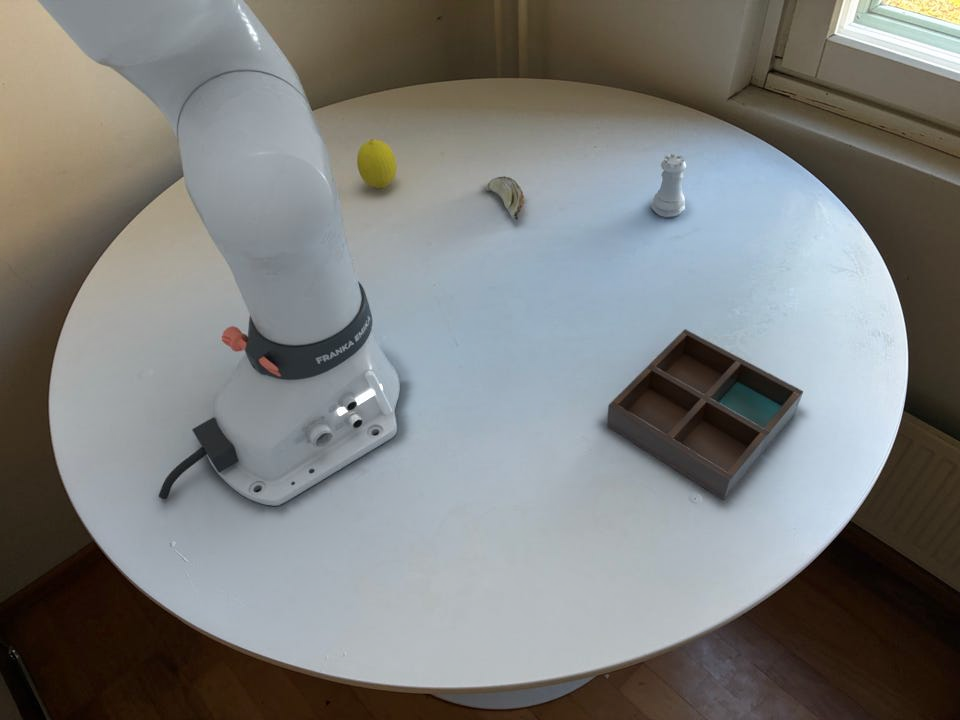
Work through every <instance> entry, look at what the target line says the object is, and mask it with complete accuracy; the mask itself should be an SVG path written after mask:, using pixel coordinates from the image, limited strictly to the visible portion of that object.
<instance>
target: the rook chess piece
mask: <svg viewBox="0 0 960 720" xmlns="http://www.w3.org/2000/svg"><path fill="white" fill-rule="evenodd" d="M675 155H676V153H670V155H669V154H667V155H665V157H664V159H663V160H662V161H661V163H660V167H661V170H663V171H662V172H661V174H660V175H661V178H662V180H661V183H660V187H659V189H658V190H657V192H655V195H654V196H653V197H652V203H651V207H652V210H653V211H654V212H655V214H657V215H658V216H660V217H663V218H675V217H678V216H679V215H681V214H682V213H683V212H684V211H685V209H686V205H685V204H686V198H685V195H684V192H683V191H682V179H683V178H684V173H683V172H684V171H685V170H686V169H687V163H686V161H685V157H684V156H682V154H680V153H677V156H675Z"/></svg>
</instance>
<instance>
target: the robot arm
mask: <svg viewBox="0 0 960 720" xmlns="http://www.w3.org/2000/svg"><path fill="white" fill-rule="evenodd" d="M36 1H37V2H38V3H39V4H40V5H41V6H42V8H43V9H44V10H45V11H46V12H47V13H48V14H49V15H50V17H51V18H52V19H53V20H54V21H55V22H56V24H58V26H60V28H61V29H62V30H63V31H64V32H65V33H66V34H67V36H68V37H69V38H70V39H71V40H72V41H73V42H74V43H75V45H76V46H77V47H78V48H79V49H80V50H81V51H82V52H83V54H84V55H86V56H87V57H88V58H89V59H90V60H92V61H93V62H95V63H96V64H99V65H101V66H104V67H107V68H109V69H111V70H113V71H114V72H116V73H117V74H119V75H120V76H121V77H122V78H124V79H125V80H126V81H128V82H129V83H130V84H131V85H132V86H134V87H135V88H136V89H137V90H138V91H140V92H141V93H142V94H143V95H145V96H146V97H147V98H148V99H149V100H150V101H151V102H152V103H153V104H154V105H155V106H156V107H157V108H158V110H159V111H160V112H161V113H162V114H163V116H164V118H165V119H166V120H167V122H168V123H169V126H170V127H171V129H172V131H173V133H174V134H173V135H175V138H176V140H177V144H178V147H179V154H180V160H181V161H180V162H181V168H182V173H183V180H184V185H185V188H186V191H187V194H188V196H189V198H190V201H191V203H192V205H193V207H194V209H195V210H196V213H197V215H198V216H199V218H200V220H201V222H202V224H203V226H204V227H205V229H206V231H207V233H208V234H209V235H208V236H210V238H211V239H212V242H213V243H214V245H215V247H216V248H217V250H218V251H219V253H220V254H221V256H222V257H223V259H224V260H225V262H226V264H227V265H228V267H229V269H230V272H231V273H232V276H233V278H234V281H235V283H236V285H237V287H238V290H239V292H240V295H241V297H242V299H243V302H244V305H245V306H246V309H247V311H248V314H249V319H248V330H247V334H246V333H243V332H242V331H241V329H240V328H238V327H237V326H228V327H227V328H226V329H225V330H223V332H222V336H221V339H222V340H221V342H222V343H223V344H225V345H226V346H227V347H230V349H231V350H232V351H234V352H241V351H243V352H244V354H243V355H242V357H241V358H240V360H239V361H238V363H237V365H236V366H235V368H234V369H233V371H232V373H231V374H230V375H229V377H228V378H227V380H226V381H225V383H224V385H223V386H222V387H221V389H220V390H219V392H218V394H217V395H216V397H215V400H214V406H213V411H214V416H212V417H211V418H210V419H208V420H206V421H205V422H203V423H201V424H199V425H197V426H195V427H194V428H192V429H191V430H192V432H193V434H194V436H195V437H196V440H197V441H198V442H199V444H200V446H201V447H200V448H198V449H197V450H196V451H195V452H193V453H192V454H191V455H189V456H188V457H186V458H185V459H183V461H181V462H180V463H179V464H178V465H176V466H175V467H174V468H173V469H172V470H171V471H170V473H168V475H167V476H166V477H165V480H164V481H163V483H162V485H161V487H160V491H159V494H158V497H159V499H161V500H167V499H168V497H169V495H170V492H171V490H172V487H173V485H174V484H175V483H176V481H177V480H178V479H179V478H180V477H181V476H182V475H183V474H184V473H185V472H186V471H188V470H189V469H190V468H191V467H192V466H193V465H195V464H196V463H198V462H199V461H200V460H201V459H203V458H204V457H205V456H207V459H208V461H209V463H210V464H211V466H212V467H213V469H214V471H215V472H216V473H217V475H218V476H219V477H220V478H221V479H222V480H223V481H224V482H225V484H227V485H229V486H230V487H231V488H232V489H233V490H234V491H235V492H238V493H239V494H240V495H241V496H243V497H244V498H246V499H248V500H250V501H253V502H255V503H257V504H261V505H265V506H273V507H277V506H281V505H283V504H285V503H287V502H289V501H290V500H292V499H294V498H295V497H296V496H299V495H300V494H302V493H303V492H305V491H307V490H308V489H310V488H312V487H313V486H315V485H317V484H318V483H320V482H322V481H323V480H325V479H327V478H328V477H330V476H332V475H334V474H335V473H337V472H338V471H340V470H342V469H343V468H345V467H347V466H348V465H350V464H351V463H353V462H355V461H357V460H358V459H360V458H361V457H363V456H365V455H366V454H368V453H370V452H372V451H374V450H375V449H376V448H378V447H380V446H382V445H383V444H385V443H387V442H388V441H390V440H391V439H393V438H394V437H395V436H396V434H397V431H398V422H397V418H396V407H397V404H398V401H399V397H400V391H401V385H400V378H399V375H398V372H397V370H396V368H395V367H394V365H393V364H392V363H391V362H390V360H389V359H388V358H387V356H386V355H385V353H384V351H383V350H382V348H381V345H380V344H379V341H378V339H377V337H376V335H375V333H374V329H373V315H372V314H373V313H372V311H371V308H370V303H369V299H368V297H367V294H366V291H365V288H364V287H363V285H362V283H361V282H360V281H359V280H358V276H357V275H358V274H357V272H356V268H355V265H354V264H355V263H354V261H353V260H354V259H353V256H352V253H351V250H350V246H349V241H348V237H347V234H346V228H345V222H344V215H343V209H342V205H341V200H340V195H339V190H338V186H337V180H336V176H335V171H334V168H333V167H334V166H333V163H332V159H331V155H330V151H329V149H328V147H327V144H326V141H325V139H324V137H323V134H322V132H321V129H320V126H319V124H318V121H317V119H316V116H315V114H314V112H313V110H312V108H311V105H310V102H309V99H308V97H307V95H306V92H305V89H304V88H303V85H302V82H301V80H300V77H299V75H298V74H297V73H298V72H297V71H296V70H295V68H294V66H293V65H292V64H291V62H290V61H289V59H288V58H287V57H286V55H285V54H284V52H283V51H282V50H281V49H280V47H279V45H278V44H277V43H276V41H275V40H274V39H273V37H272V36H271V35H270V33H269V32H268V30H267V29H266V28H265V26H264V25H263V23H261V20H259V19H258V17H257V16H256V15H255V13H254V11H253V10H252V9H251V8H250V6H249V5H248V4H247V3H246V2H245V0H36ZM375 434H376V435H375ZM258 490H260V491H258ZM257 491H258V492H257Z"/></svg>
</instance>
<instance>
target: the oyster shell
mask: <svg viewBox="0 0 960 720" xmlns="http://www.w3.org/2000/svg"><path fill="white" fill-rule="evenodd" d="M486 191H488V192H489V191H490V192H493V193H495V194H496V195H498V196H499V197H500V198H501V199H502V202H503V204H504V207H505V208H506V210H507V211H508V213H509V214H510V217H511V218H512V219H515V221H517V220H518V219H519V217H518V214H519V213H520V212H521V210H522V208H523V207H524V203H525V196H524V192H523V190H522V188H521V187H520V185H519V184H518V183H517V182H516V180H514V179H513V178H511V177H509V176H497V177H494V178H492V179H491V180H489V181H488V182H487V185H486Z"/></svg>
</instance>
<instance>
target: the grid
mask: <svg viewBox="0 0 960 720" xmlns="http://www.w3.org/2000/svg"><path fill="white" fill-rule="evenodd" d="M803 394H804V390H802V389H800V388H798V387H796V386H794V385H793V384H790V383H789V382H787V381H785V380H783V379H781V378H779V377H777V376H775V375H774V374H772V373H770V372H768V371H766V370H764V369H763V368H760V367H759V366H756V365H755V364H753V363H751V362H749V361H747V360H745V359H743V358H741V357H740V356H738V355H735V354H734V353H731V352H730V351H728V350H727V349H724V348H722V347H721V346H719V345H717V344H714V343H713V342H711V341H709V340H707V339H705V338H704V337H702V336H700V335H697V334H696V333H694V332H692V331H690V330H688V329H686V328H685V329H684V330H682V331H681V332H680V334H678V335H677V336H676V337H675V339H673V340H672V341H671V342H670V343H669V344H668V345H667V346H666V347H665V348H664V349H663V350H662V351H661V352H660V353H659V354H658V355H657V356H656V357H655V358H654V359H653V360H652V361H651V362H650V364H648V365H647V366H646V367H645V368H644V369H643V370H642V371H641V372H640V373H639V374H638V375H637V376H636V377H635V378H634V379H633V380H632V381H631V382H630V383H629V384H628V385H627V386H626V387H625V388H624V389H623V390H622V391H621V392H620V393H619V394H618V395H617V396H616V397H615V398H614V399H613V400H612V401H611V402H610V403H608V406H607V417H606V418H607V419H606V426H607V428H609V429H611V430H613V431H614V432H616V433H617V434H619V435H620V436H622V437H623V438H625V439H626V440H628V441H630V442H631V443H633V444H635V445H636V446H637V447H639V448H641V449H642V450H644V451H646V452H647V453H649V454H650V455H652V456H653V457H655V458H657V460H659V461H661V462H663V463H665V465H668V466H669V467H670V468H672V469H674V470H675V471H677V472H678V473H680V474H681V475H683V476H684V477H686V478H688V479H689V480H691V482H692V481H693V482H694V483H695V484H697V485H698V486H700V487H702V488H704V489H705V490H707V491H708V492H710V493H711V494H713V495H715V496H716V497H718V498H719V499H721V500H722V501H725V499H726V498H727V497H728V496H729V495H730V493H732V491H733V489H734V488H735V487H736V486H737V485H738V484H739V482H741V480H742V478H744V476H746V474H747V473H748V472H749V470H750V469H751V468H752V467H753V466H754V464H755V463H756V462H757V460H758V459H759V458H760V457H761V455H762V454H763V453H765V451H766V449H767V448H768V447H769V446H770V444H771V443H772V442H773V441H774V440H775V439H776V437H777V436H778V435H779V434H780V432H781V431H782V430H783V429H784V427H786V425H787V424H788V422H790V420H791V419H792V418H793V416H794V415H795V414H796V413H797V410H798V407H799V404H800V402H801V399H802V396H803Z"/></svg>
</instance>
